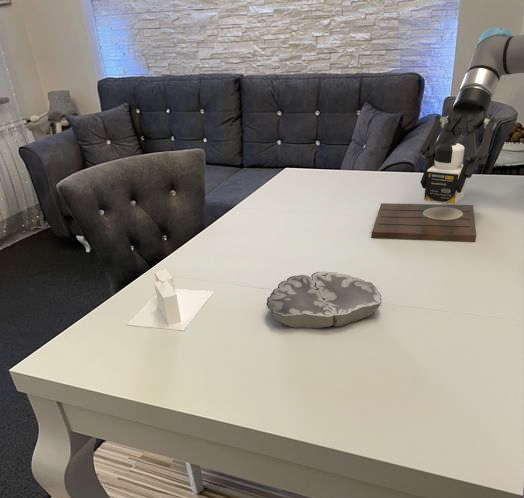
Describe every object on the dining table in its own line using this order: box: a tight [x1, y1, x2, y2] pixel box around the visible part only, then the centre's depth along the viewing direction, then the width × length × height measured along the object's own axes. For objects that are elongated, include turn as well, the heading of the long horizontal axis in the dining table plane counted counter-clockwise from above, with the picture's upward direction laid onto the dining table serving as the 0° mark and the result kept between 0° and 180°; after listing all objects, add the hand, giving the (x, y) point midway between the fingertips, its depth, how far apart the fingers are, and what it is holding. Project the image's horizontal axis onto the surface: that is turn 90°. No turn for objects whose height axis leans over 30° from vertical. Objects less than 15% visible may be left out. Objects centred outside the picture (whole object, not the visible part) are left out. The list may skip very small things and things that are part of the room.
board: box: [370, 202, 477, 243], centre depth 125 cm, size 22×20×2 cm
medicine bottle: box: [423, 142, 468, 205], centre depth 121 cm, size 7×7×12 cm
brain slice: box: [265, 271, 382, 329], centre depth 94 cm, size 20×17×3 cm
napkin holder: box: [126, 268, 215, 331], centre depth 97 cm, size 15×11×6 cm
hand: (440, 187), depth 120 cm, fingers closed on medicine bottle, 7 cm apart
